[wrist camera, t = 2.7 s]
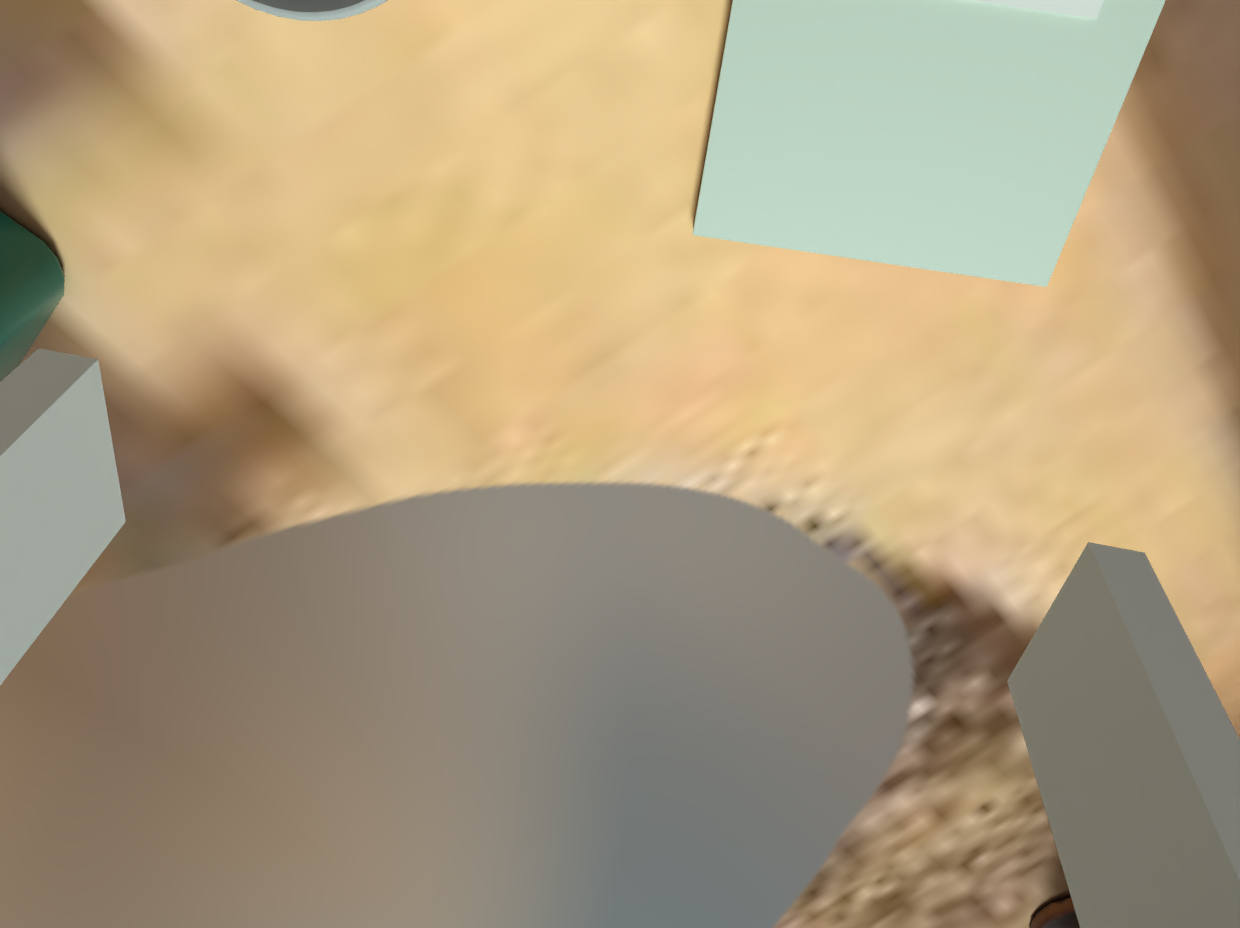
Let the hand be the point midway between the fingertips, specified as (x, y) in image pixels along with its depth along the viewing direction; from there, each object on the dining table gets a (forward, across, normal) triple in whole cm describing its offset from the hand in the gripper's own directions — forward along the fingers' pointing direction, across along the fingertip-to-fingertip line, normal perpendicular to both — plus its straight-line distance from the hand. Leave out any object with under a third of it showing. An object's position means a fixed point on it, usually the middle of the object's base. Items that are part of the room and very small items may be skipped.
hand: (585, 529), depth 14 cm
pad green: (+27, +9, 0) cm, 29 cm away
